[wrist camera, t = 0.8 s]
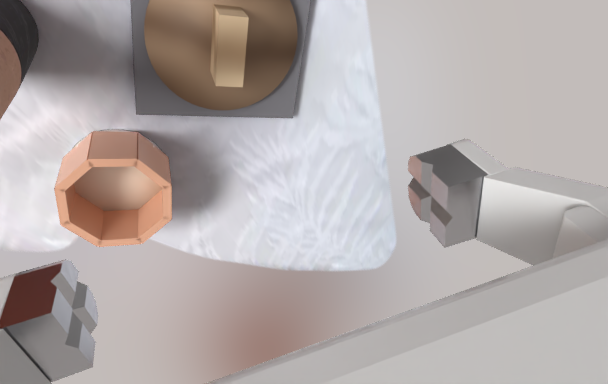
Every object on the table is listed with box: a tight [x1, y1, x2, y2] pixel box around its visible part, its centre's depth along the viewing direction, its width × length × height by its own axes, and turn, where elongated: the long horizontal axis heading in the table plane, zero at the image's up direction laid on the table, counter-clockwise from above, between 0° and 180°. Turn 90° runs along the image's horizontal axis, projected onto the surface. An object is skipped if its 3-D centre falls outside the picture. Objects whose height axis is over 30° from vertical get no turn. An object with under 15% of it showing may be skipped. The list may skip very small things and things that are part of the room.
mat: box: [131, 0, 311, 118], centre depth 42 cm, size 16×16×1 cm
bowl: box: [54, 129, 172, 247], centre depth 44 cm, size 10×10×6 cm
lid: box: [144, 0, 298, 110], centre depth 40 cm, size 14×14×5 cm
